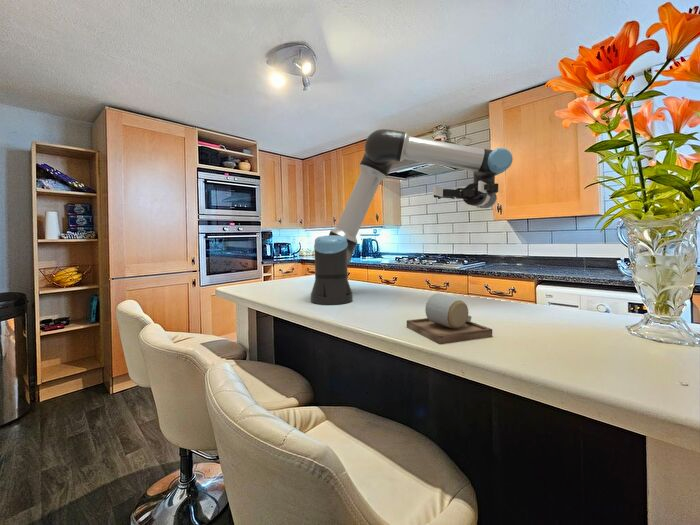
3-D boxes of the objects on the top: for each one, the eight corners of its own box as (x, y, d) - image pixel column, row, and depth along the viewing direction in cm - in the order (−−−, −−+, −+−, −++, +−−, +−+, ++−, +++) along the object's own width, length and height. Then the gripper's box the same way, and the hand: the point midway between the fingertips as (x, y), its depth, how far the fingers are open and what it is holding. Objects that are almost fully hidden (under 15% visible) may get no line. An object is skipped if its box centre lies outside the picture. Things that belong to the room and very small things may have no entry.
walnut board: (406, 326, 81) (406, 320, 81) (452, 321, 85) (452, 315, 85) (439, 344, 68) (439, 336, 67) (492, 336, 72) (492, 329, 72)
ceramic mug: (449, 332, 71) (449, 300, 71) (425, 324, 78) (424, 295, 77) (480, 324, 76) (479, 294, 76) (454, 317, 83) (453, 289, 82)
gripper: (515, 203, 105) (500, 197, 88) (441, 208, 120) (417, 203, 103) (515, 180, 105) (501, 169, 88) (441, 187, 120) (417, 179, 103)
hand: (455, 187), depth 96 cm, fingers open, 13 cm apart
